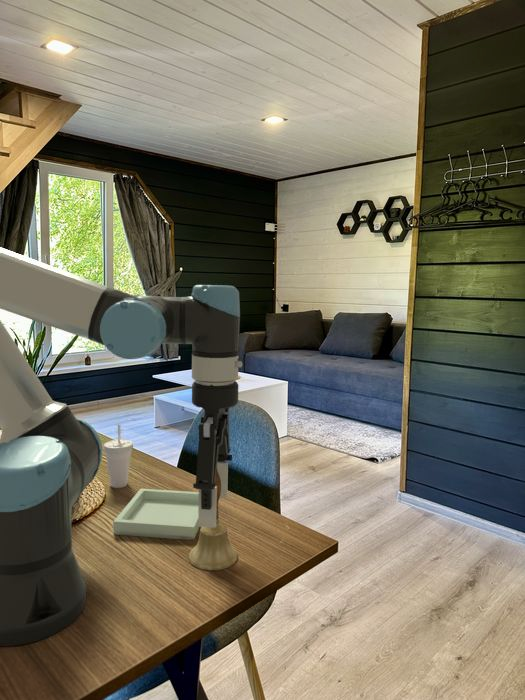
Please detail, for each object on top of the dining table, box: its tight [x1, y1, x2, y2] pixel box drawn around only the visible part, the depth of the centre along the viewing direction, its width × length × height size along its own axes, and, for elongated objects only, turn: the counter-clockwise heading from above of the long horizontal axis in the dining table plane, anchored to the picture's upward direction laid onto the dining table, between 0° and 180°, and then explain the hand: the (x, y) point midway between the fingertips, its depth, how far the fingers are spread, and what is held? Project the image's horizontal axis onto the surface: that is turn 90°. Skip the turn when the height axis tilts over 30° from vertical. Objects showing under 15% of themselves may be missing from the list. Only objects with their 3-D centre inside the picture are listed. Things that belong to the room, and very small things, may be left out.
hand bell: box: [188, 470, 239, 572], centre depth 85 cm, size 8×8×16 cm
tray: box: [113, 488, 201, 541], centre depth 99 cm, size 15×15×2 cm
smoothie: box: [103, 423, 134, 489], centre depth 114 cm, size 6×6×14 cm
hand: (213, 510), depth 85 cm, fingers open, 10 cm apart
